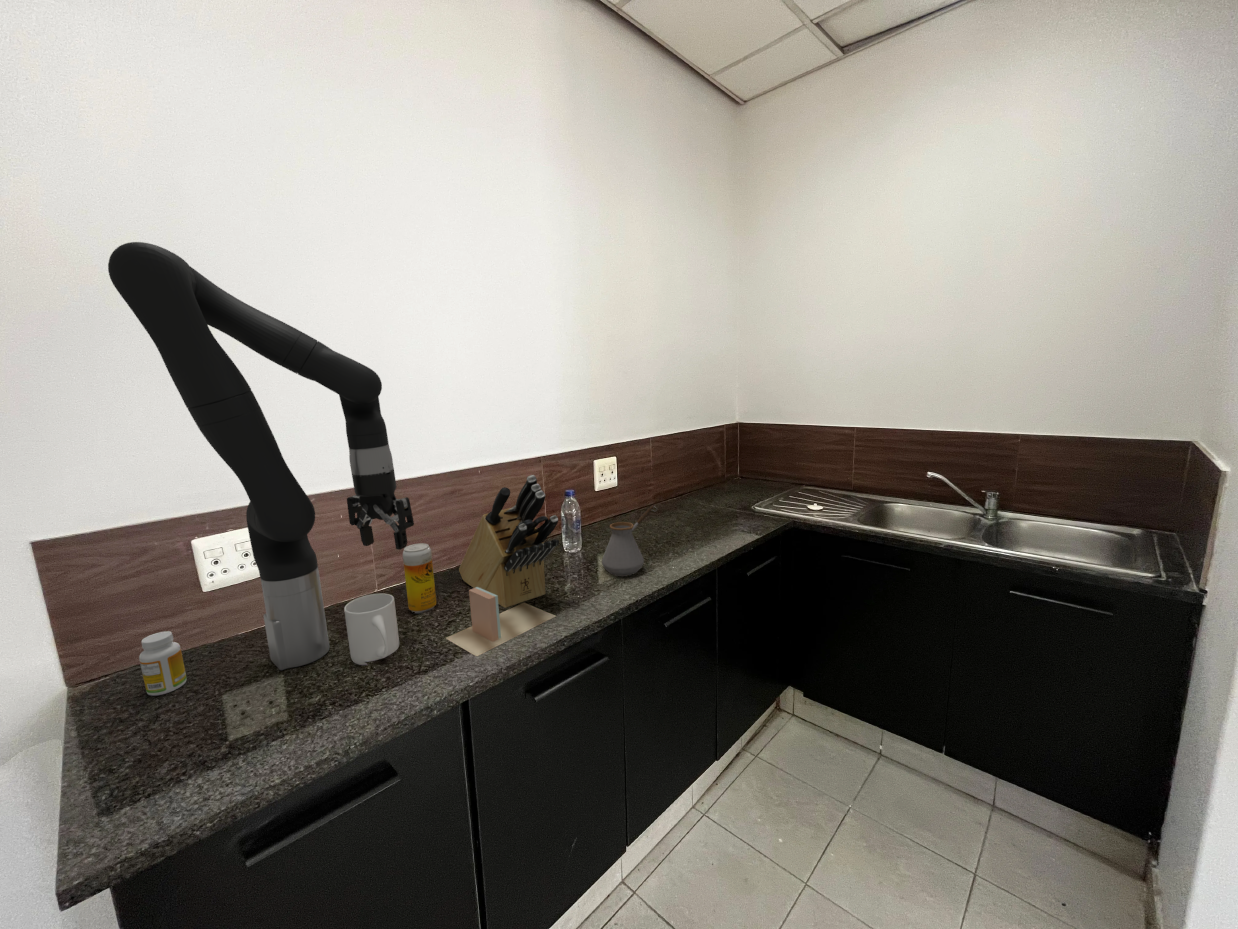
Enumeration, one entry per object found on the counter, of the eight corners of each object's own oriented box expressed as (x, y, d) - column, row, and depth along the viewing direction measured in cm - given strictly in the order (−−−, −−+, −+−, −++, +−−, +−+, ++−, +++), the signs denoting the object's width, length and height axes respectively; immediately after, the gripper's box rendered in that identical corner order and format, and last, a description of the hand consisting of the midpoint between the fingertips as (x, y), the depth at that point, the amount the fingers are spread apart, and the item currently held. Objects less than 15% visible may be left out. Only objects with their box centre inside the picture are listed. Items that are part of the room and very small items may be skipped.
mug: (363, 680, 89) (355, 624, 87) (346, 654, 97) (339, 603, 96) (412, 661, 94) (406, 608, 92) (391, 638, 103) (386, 589, 101)
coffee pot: (627, 582, 127) (625, 526, 124) (593, 573, 134) (590, 519, 131) (672, 557, 143) (671, 507, 141) (639, 550, 150) (638, 502, 148)
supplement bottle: (183, 674, 92) (173, 626, 91) (190, 685, 89) (180, 634, 87) (144, 689, 88) (133, 638, 87) (149, 700, 85) (138, 648, 83)
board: (477, 661, 93) (476, 656, 93) (445, 642, 100) (445, 638, 100) (556, 620, 108) (556, 616, 108) (524, 606, 115) (523, 602, 115)
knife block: (524, 627, 105) (514, 485, 100) (458, 580, 132) (447, 465, 127) (568, 611, 113) (561, 477, 107) (497, 568, 139) (489, 459, 134)
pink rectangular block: (492, 641, 98) (489, 599, 97) (472, 631, 103) (468, 590, 101) (501, 637, 100) (497, 595, 98) (480, 627, 104) (477, 586, 103)
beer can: (427, 615, 113) (420, 552, 110) (403, 613, 114) (396, 551, 111) (441, 603, 118) (435, 543, 116) (419, 602, 120) (412, 542, 117)
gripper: (329, 472, 97) (343, 550, 100) (386, 474, 92) (399, 556, 95) (360, 464, 104) (372, 537, 107) (415, 465, 99) (426, 542, 102)
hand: (385, 546), depth 101 cm, fingers open, 8 cm apart
